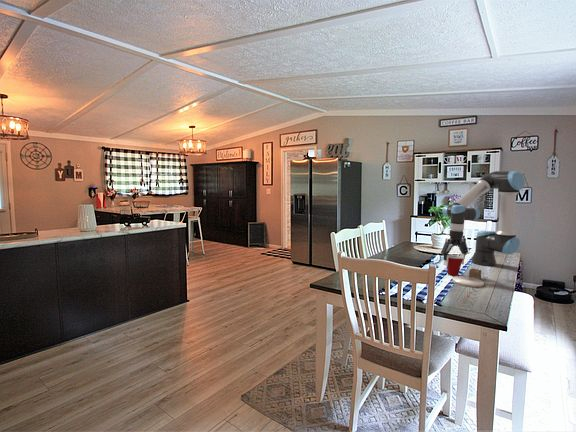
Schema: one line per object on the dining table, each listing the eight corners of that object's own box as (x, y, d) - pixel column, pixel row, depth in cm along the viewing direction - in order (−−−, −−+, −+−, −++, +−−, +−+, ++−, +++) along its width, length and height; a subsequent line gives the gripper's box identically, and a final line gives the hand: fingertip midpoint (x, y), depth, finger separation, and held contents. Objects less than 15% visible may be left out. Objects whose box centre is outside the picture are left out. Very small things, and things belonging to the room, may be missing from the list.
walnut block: (472, 276, 210) (472, 268, 210) (480, 278, 206) (481, 270, 206) (468, 277, 207) (469, 269, 206) (477, 279, 203) (478, 271, 203)
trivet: (466, 277, 207) (467, 275, 207) (490, 285, 192) (490, 283, 192) (446, 279, 202) (446, 277, 202) (468, 288, 187) (468, 285, 187)
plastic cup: (461, 273, 216) (462, 254, 214) (463, 278, 206) (465, 258, 204) (442, 271, 219) (443, 253, 218) (444, 276, 209) (445, 256, 208)
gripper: (466, 228, 216) (463, 261, 219) (436, 229, 208) (433, 264, 211) (476, 230, 209) (473, 264, 212) (445, 232, 201) (442, 267, 204)
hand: (453, 264), depth 212 cm, fingers open, 12 cm apart
